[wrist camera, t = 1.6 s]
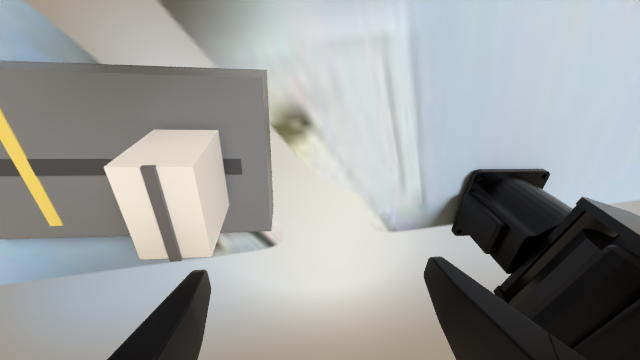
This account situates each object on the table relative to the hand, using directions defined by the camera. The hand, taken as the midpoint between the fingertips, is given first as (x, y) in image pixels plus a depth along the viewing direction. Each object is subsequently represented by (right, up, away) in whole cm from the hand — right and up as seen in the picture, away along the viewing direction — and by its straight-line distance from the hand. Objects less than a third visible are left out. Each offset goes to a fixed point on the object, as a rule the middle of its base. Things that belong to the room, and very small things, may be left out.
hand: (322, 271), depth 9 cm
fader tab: (-7, +4, +6) cm, 10 cm away
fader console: (-12, +5, +8) cm, 16 cm away
